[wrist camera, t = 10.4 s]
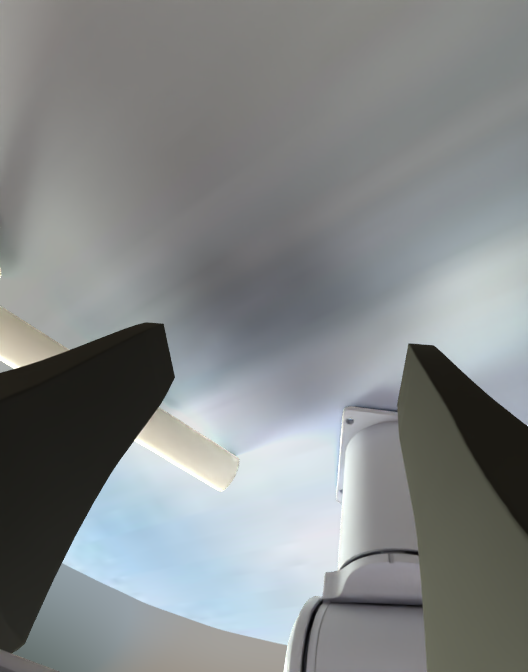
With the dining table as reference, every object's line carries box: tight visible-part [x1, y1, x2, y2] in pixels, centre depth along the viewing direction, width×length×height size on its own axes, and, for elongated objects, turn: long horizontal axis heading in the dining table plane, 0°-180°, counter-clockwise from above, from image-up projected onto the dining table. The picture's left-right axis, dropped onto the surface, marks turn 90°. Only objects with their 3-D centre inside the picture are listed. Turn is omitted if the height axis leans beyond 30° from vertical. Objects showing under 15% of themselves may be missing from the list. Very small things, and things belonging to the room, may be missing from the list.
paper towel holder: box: [0, 269, 239, 492], centre depth 23 cm, size 9×9×32 cm
